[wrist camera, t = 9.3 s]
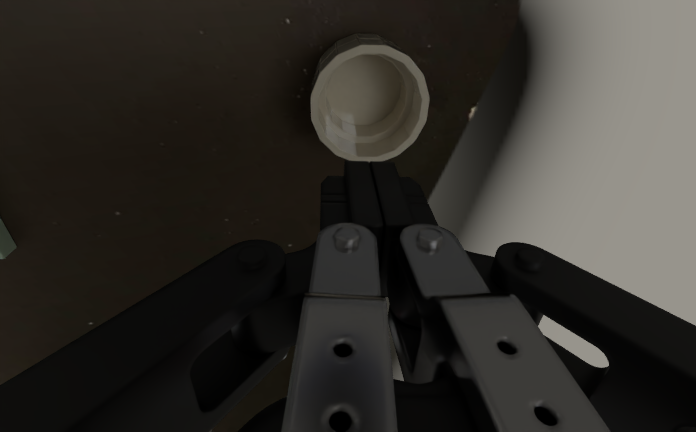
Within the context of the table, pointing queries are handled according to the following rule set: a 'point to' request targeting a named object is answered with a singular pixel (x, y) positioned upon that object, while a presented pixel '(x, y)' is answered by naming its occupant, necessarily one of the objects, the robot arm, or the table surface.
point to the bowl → (368, 98)
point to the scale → (5, 241)
